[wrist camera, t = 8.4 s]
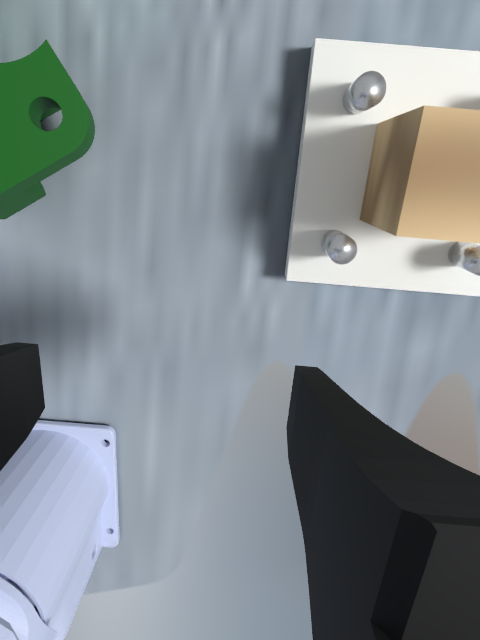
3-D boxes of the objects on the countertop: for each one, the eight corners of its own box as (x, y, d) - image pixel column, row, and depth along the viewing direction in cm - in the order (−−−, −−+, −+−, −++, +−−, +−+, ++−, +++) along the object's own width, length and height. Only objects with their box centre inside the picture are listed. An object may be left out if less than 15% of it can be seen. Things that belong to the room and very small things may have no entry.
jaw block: (446, 227, 18) (512, 246, 14) (359, 219, 18) (396, 236, 14) (470, 131, 17) (553, 116, 12) (377, 123, 17) (424, 105, 12)
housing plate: (478, 290, 21) (516, 310, 18) (284, 274, 21) (290, 292, 18) (544, 65, 17) (606, 43, 14) (311, 46, 17) (324, 20, 14)
